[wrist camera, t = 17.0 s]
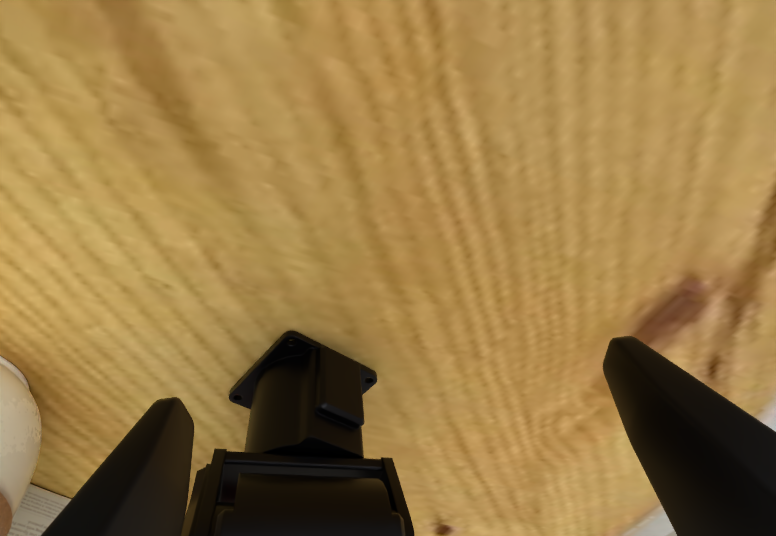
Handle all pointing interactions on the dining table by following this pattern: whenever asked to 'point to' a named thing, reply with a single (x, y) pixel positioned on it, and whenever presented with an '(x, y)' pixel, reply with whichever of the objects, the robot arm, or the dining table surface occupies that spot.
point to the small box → (36, 512)
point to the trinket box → (16, 441)
